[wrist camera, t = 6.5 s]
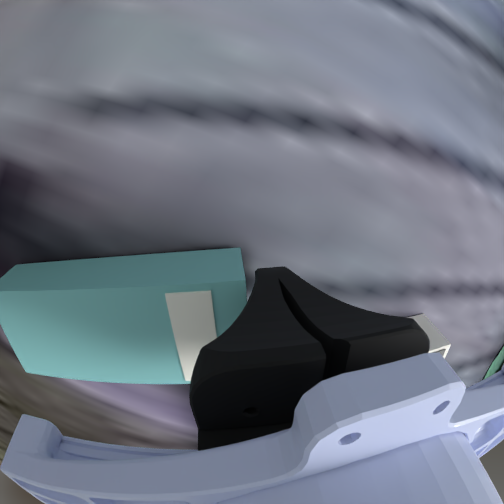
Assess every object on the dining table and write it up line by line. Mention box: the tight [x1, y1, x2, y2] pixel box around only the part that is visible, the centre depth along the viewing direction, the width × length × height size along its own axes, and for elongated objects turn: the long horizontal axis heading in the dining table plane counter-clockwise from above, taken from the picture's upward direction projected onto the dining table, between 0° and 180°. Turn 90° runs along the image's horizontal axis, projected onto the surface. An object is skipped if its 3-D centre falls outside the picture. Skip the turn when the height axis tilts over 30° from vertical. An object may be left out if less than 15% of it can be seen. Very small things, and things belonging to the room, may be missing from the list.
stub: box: [0, 248, 247, 384], centre depth 12 cm, size 5×12×3 cm, turn 92°
